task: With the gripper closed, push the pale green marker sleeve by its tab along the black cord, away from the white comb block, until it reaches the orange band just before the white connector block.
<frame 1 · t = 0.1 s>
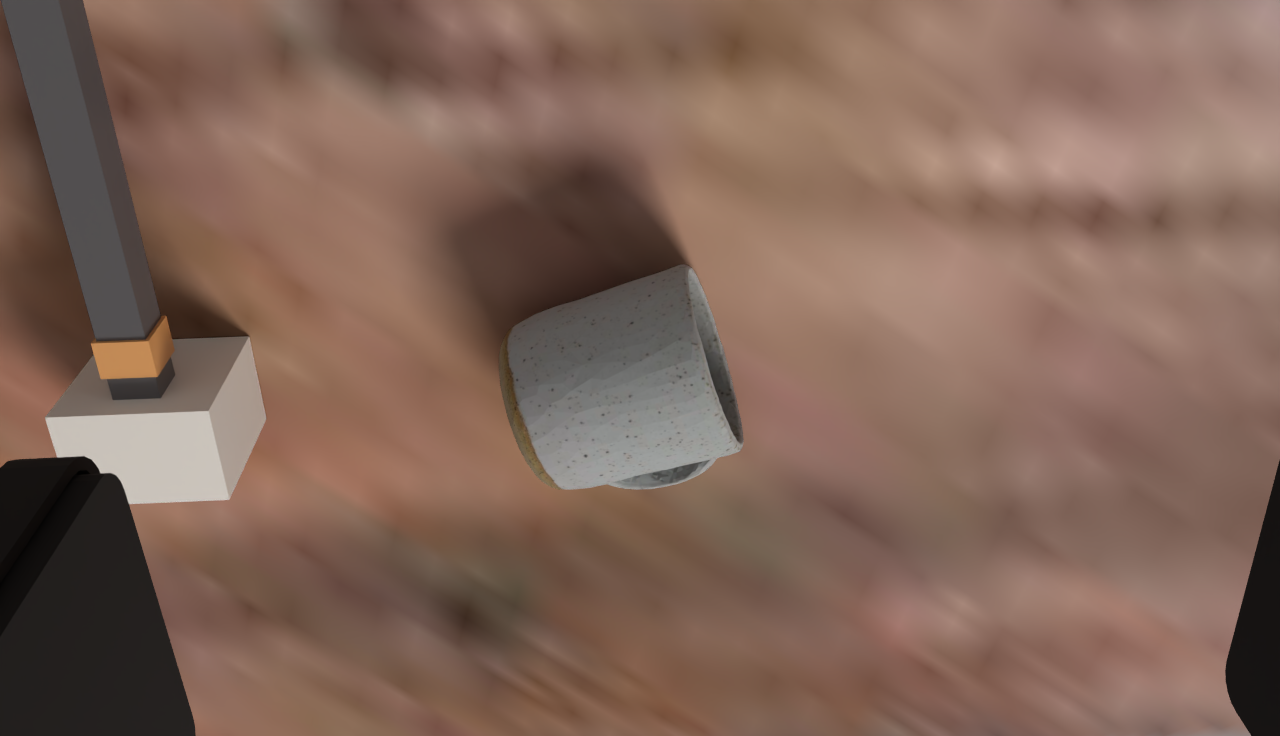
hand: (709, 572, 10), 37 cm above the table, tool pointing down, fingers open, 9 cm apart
ceramic mug: (637, 361, 51), on the table
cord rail: (112, 74, 44), on the table
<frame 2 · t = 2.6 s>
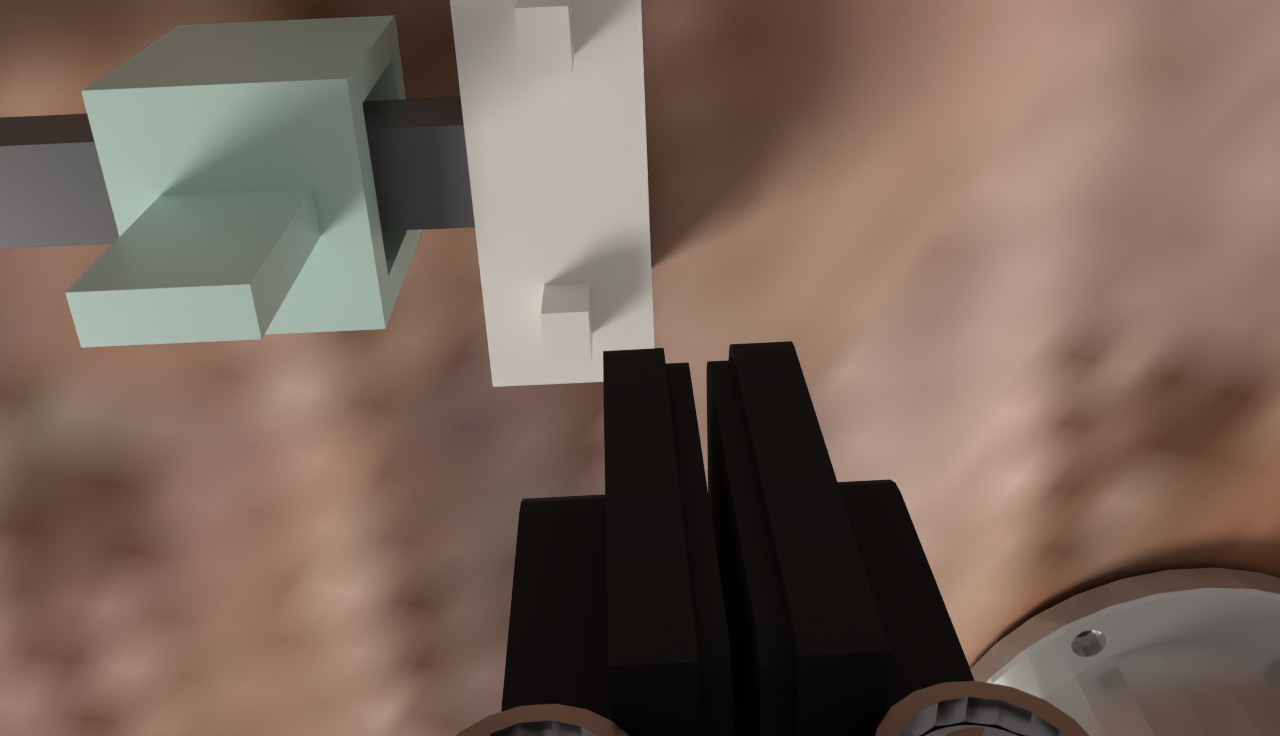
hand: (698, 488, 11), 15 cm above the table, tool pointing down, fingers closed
marker sleeve: (248, 206, 19), point 6 cm above the table, slide at 0.0 cm
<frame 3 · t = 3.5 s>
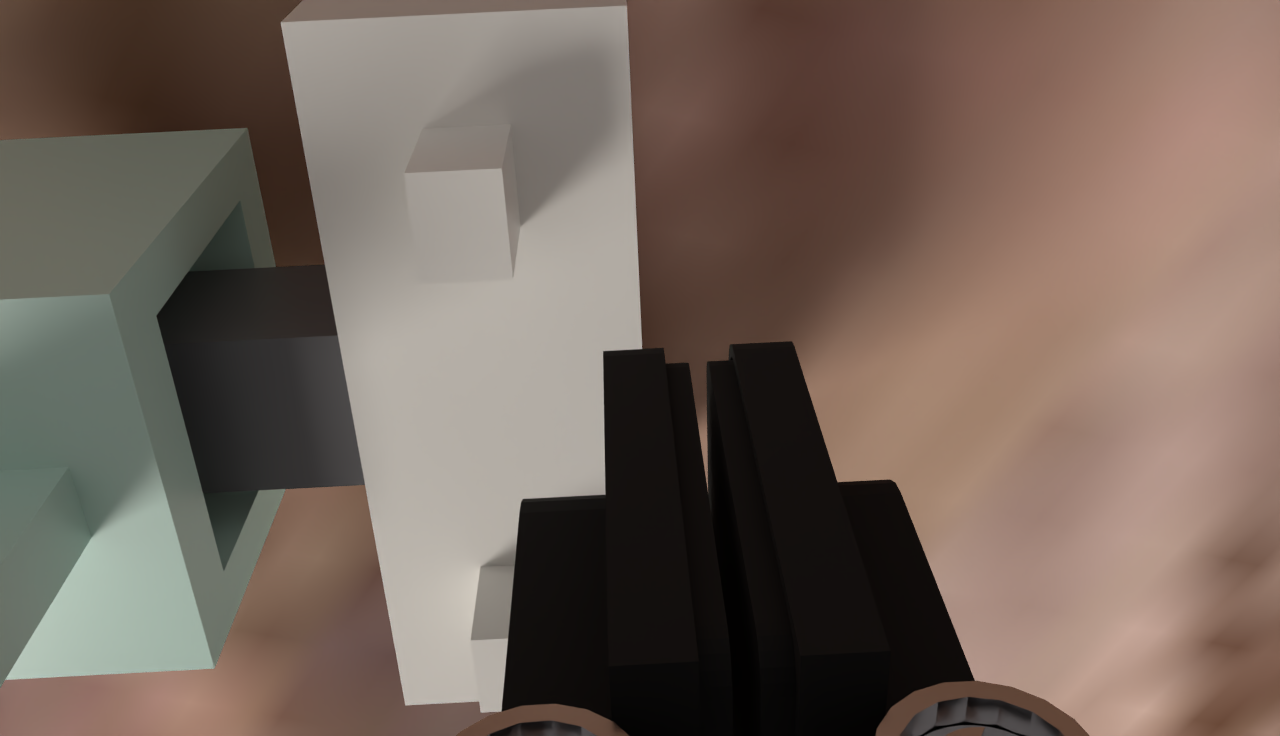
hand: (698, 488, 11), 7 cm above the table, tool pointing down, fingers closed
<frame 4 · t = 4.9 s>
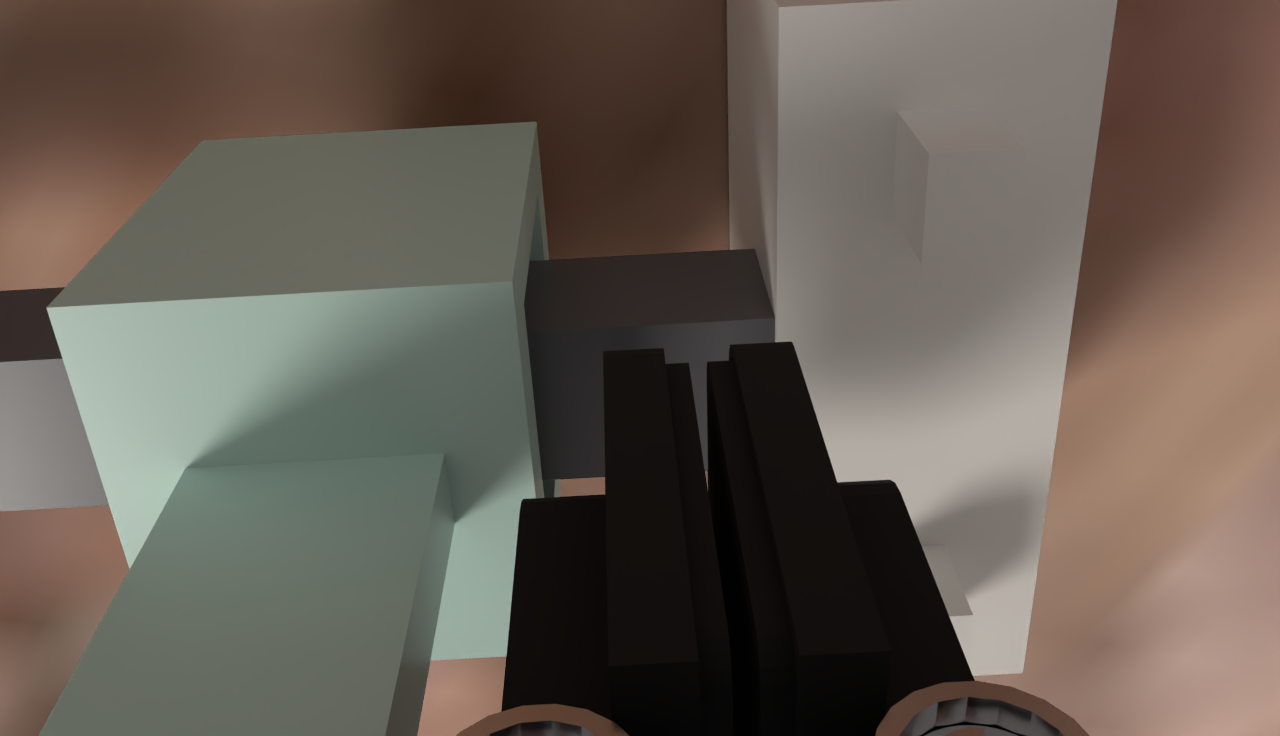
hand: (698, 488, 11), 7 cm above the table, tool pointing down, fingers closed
marker sleeve: (331, 469, 12), point 6 cm above the table, slide at 1.0 cm, touching gripper
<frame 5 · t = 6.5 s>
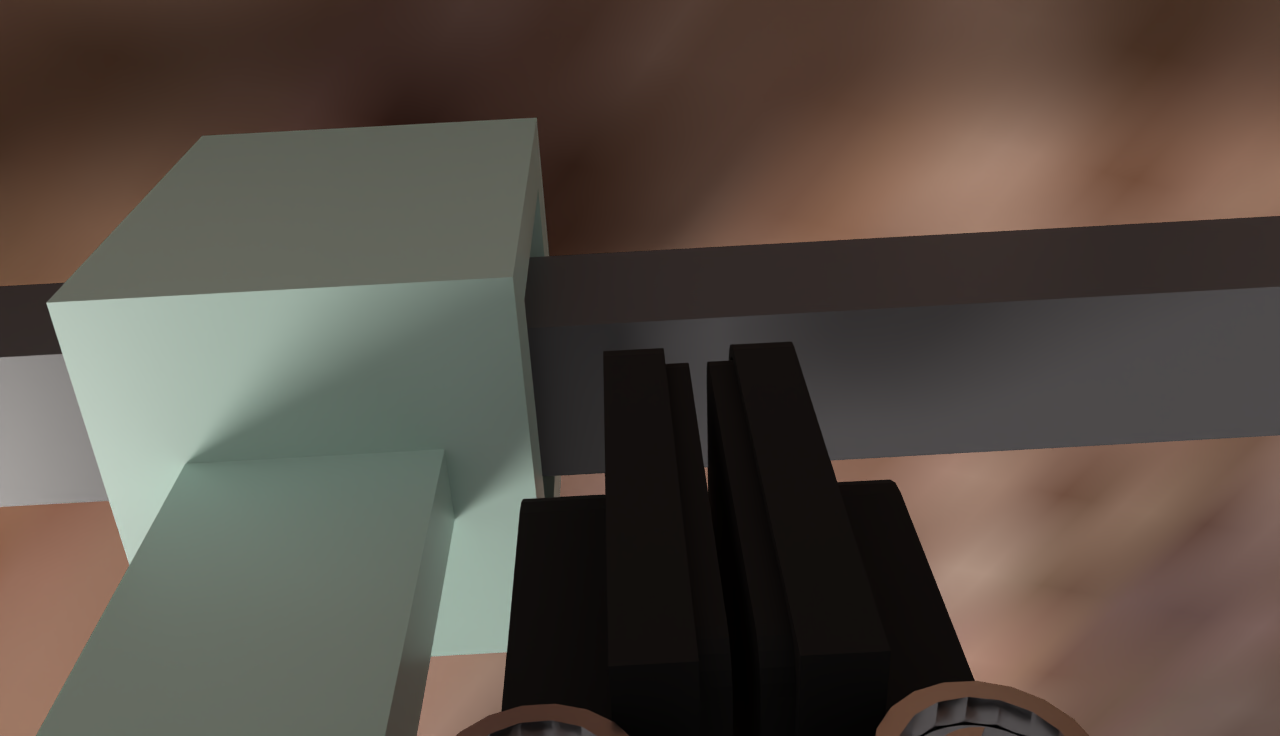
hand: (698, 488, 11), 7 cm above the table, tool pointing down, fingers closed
marker sleeve: (331, 465, 12), point 6 cm above the table, slide at 10.1 cm, touching gripper
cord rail: (493, 230, 17), on the table
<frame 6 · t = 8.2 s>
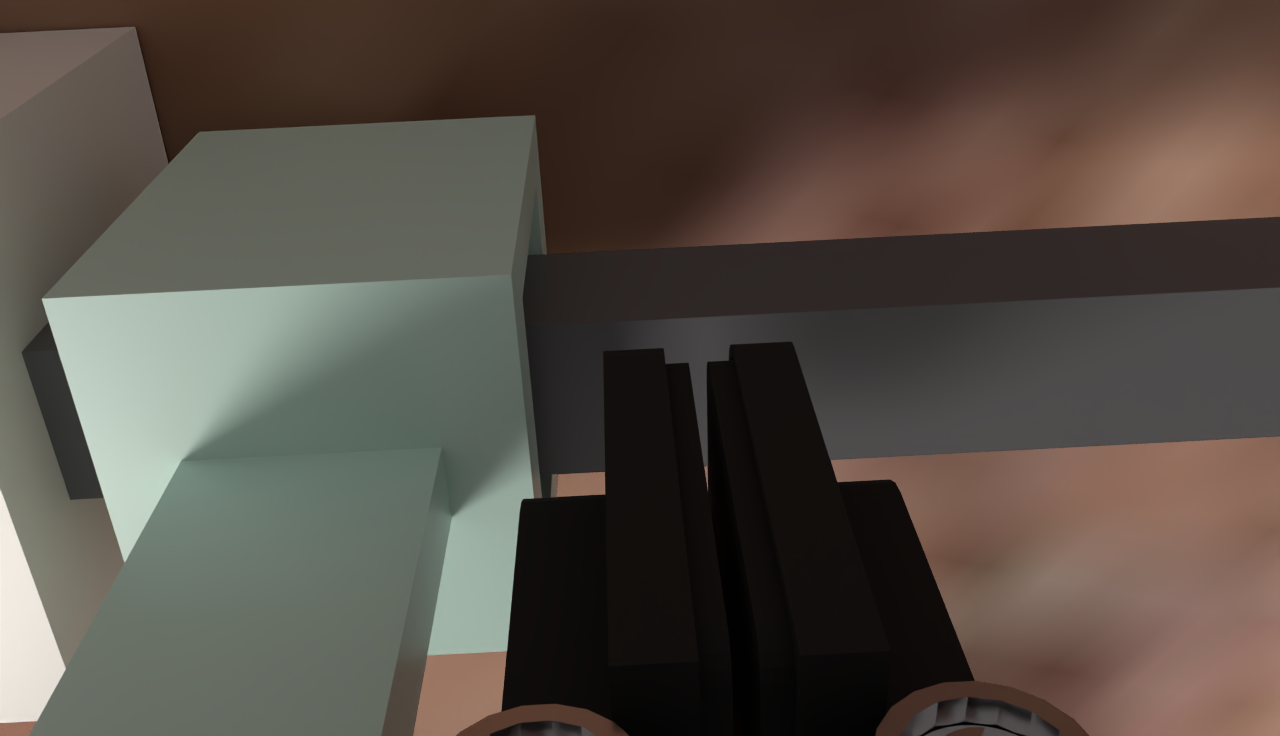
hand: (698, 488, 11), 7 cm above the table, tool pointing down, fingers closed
marker sleeve: (328, 463, 12), point 6 cm above the table, slide at 16.9 cm, touching gripper
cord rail: (971, 204, 17), on the table
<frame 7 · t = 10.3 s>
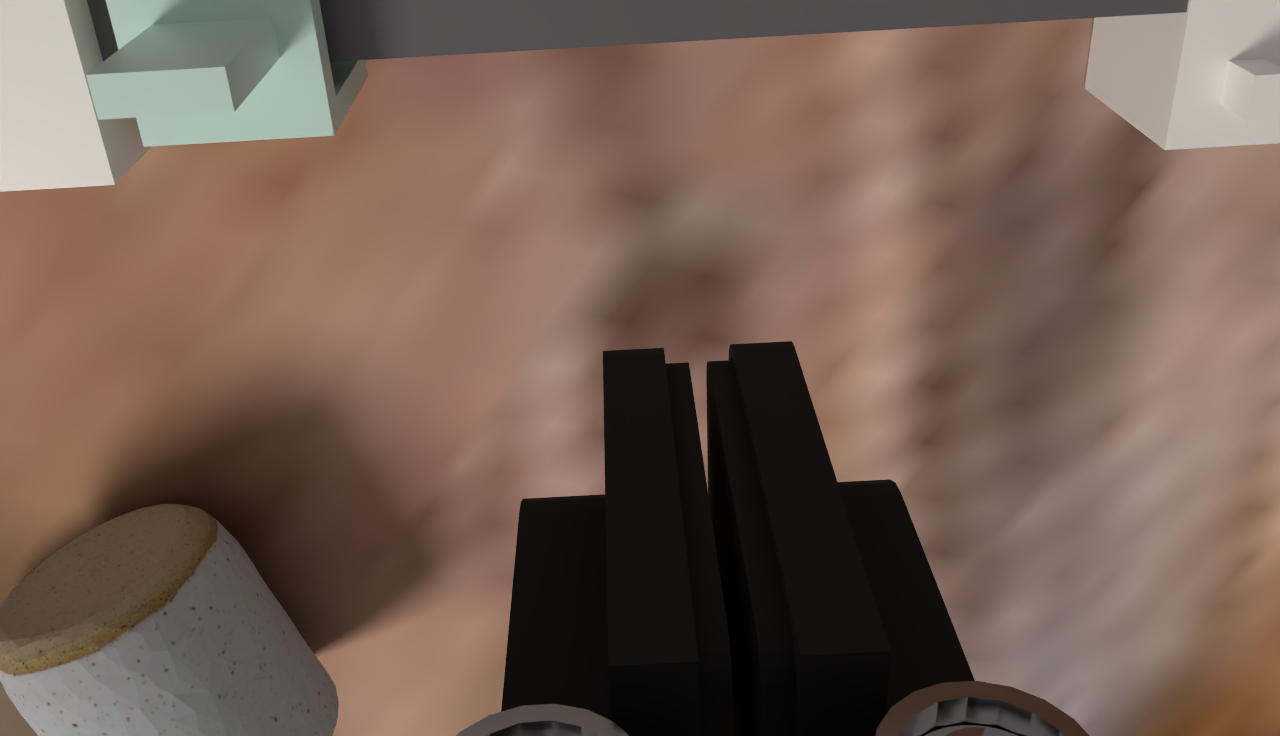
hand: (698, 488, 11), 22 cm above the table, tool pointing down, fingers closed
ceramic mug: (171, 604, 39), on the table
marker sleeve: (222, 35, 25), point 6 cm above the table, slide at 17.1 cm
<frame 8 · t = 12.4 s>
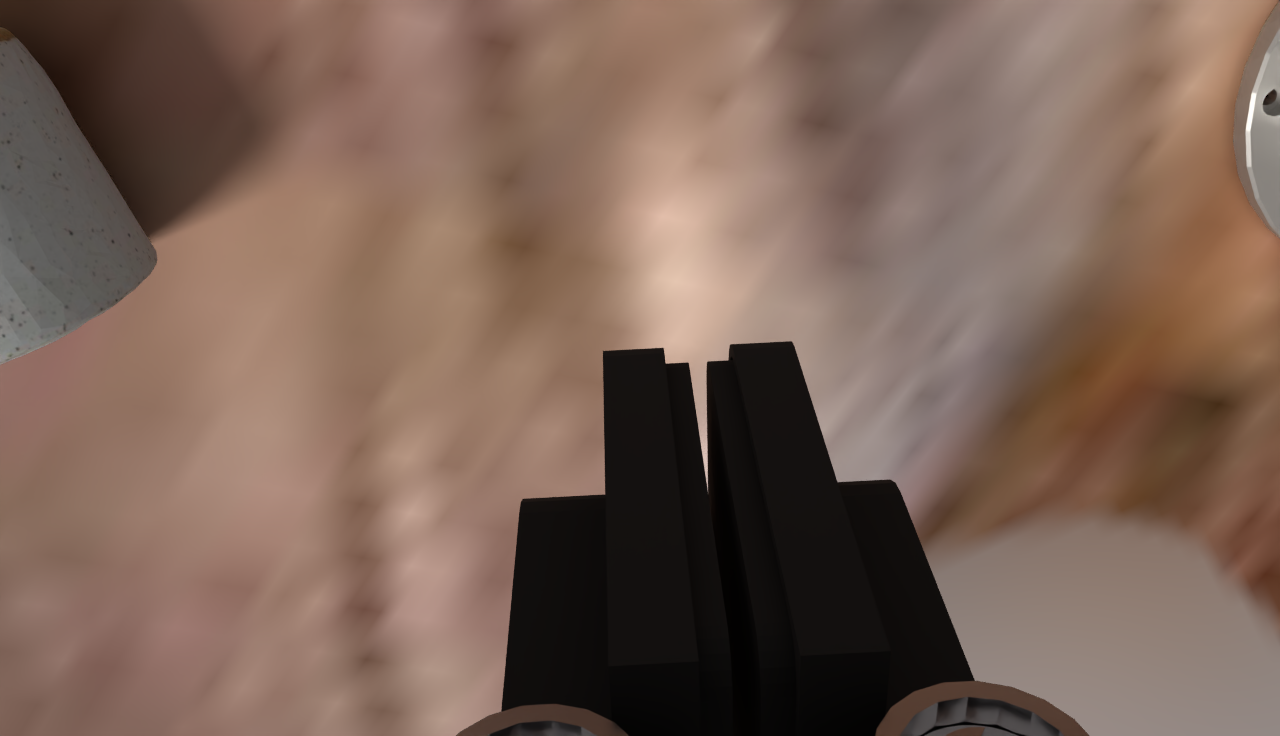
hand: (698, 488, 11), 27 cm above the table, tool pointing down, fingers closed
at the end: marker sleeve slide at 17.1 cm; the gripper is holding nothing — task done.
